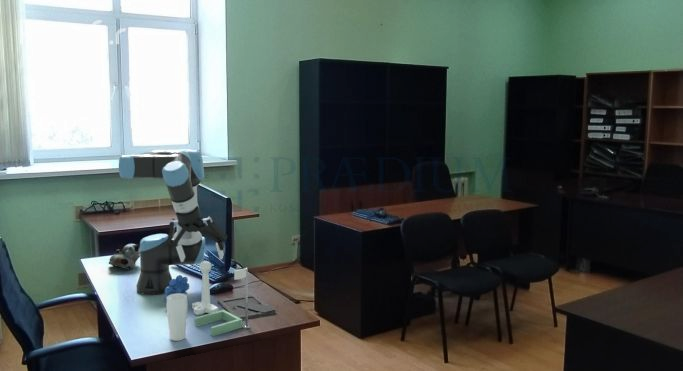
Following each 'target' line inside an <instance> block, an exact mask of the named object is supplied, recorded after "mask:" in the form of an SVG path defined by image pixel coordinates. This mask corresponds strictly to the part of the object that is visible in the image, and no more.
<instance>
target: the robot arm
mask: <svg viewBox="0 0 683 371" xmlns="http://www.w3.org/2000/svg"><path fill="white" fill-rule="evenodd" d="M202 155H203V154H202V153H201V151H199V150H197V149H190V148H189V149H155V150H149V151H146V152H143V153H140V154H123V155H120V156H119V159H118V173H119V174H118V175H119V176H120V178H121V179H130V180H132V179H155V180H163V182H164V183H165V186H166V189H167V192H168V195H169V197H170V201H171V203H172V207H173V210H174V214H175V218H171V219H170V222H169V231H168V232H169V233H168V234H167V233H156V234H151V235H148V236H145V237H143V238H142V239H140V242H139V249H140V250H139V251H140V257H139V259H140V261H139V262H140V263H139V264H140V266H139V267H140V268H139V269H140V274H139V277H138V281H137V284H136V291H137V293H139V294H141V295H146V296H151V295H152V296H153V295H155V296H156V295H157V296H158V295H163V294H165V289H166V287H168V286H170V285H169V282H170V280H172V279H173V277H172V274H171V271H170V266H181V265H182V266H183V265H191V266H193V265H200V264H201V262H203V261H204V257H205V249H206V248H205V247H206V237H208V238H209V239H210V240H212V241H213V242H215V247H216V250H217V253H218V254H217V255H218V258H219V260H223V258H224V255H225V254H224V249H225V245H224V243H225V242H227V238H228V235H227V233H225V232H224V230H222V228H221V227H220V226H219V225H218V223H216V222H215V221H214V219H213V217H212V216H211V215H208V216H207V217H206V218H205V217H203V216H202V213H201V210H200V206H199V203H198V186H199V185H200V184H201V183H202V181H201V180H203V179H205V169H204V168H205V167H204V162H203V156H202ZM175 230H176V231H175ZM202 234H204V236H206V237H204V236H202Z"/></svg>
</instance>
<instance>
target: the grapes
mask: <svg viewBox="0 0 683 371" xmlns="http://www.w3.org/2000/svg"><path fill="white" fill-rule="evenodd" d="M188 281H189V279H188V277H187V276H183V275H181V274H179V275H177V276H176V278H172V280H170V282H169V285H170V286H168V287H166V289H165V293H164V294H165V296H164V302H165V303H167V296H169V295H171V294H177V293H181V294H185V295H187V296H188V292H187V291H188V290H189V289H190V283H188Z"/></svg>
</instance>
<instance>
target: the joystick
mask: <svg viewBox="0 0 683 371" xmlns="http://www.w3.org/2000/svg"><path fill="white" fill-rule="evenodd" d="M198 267H199V270H200V271H201V273H202V275H201V276H202V278H201V279H202V280H201V301H196V302H192V303H191V305H192V306H191V309H192V310H193V313H194V314H195V315H196V316H203V315H204V314H206V313H207V314H210V313H214V312H217V311H219V307H218V306H216V305H215V304H212V303H211V294H210V293H211V292H210V278H209V273H210V271H211V269H212V263H211V262H210V261H208V260H203V261H202V262H201V263H200V264H199V266H198Z"/></svg>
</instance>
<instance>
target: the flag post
mask: <svg viewBox="0 0 683 371" xmlns="http://www.w3.org/2000/svg"><path fill="white" fill-rule="evenodd" d="M248 270H249V268H248V267H245V268H241V269H237V270H233V274H234V275H233V276H234V277H233V280H235V281H236V280H240V279H243V278H245V286H244V289H245V293H244V294H245V295H244V296H245V319H244V320H245V324H244V325H242V328H243V329H244V330H245V329H246V330H247V329H250V328H251V325H250V324H249V318H248V295H249V294H248V292H249V290H248V289H249V288H248V287H249V286H248V285H249V284H248V283H249V281H248V279H249V278H248V276H249V274H248V273H249V272H248Z"/></svg>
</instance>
